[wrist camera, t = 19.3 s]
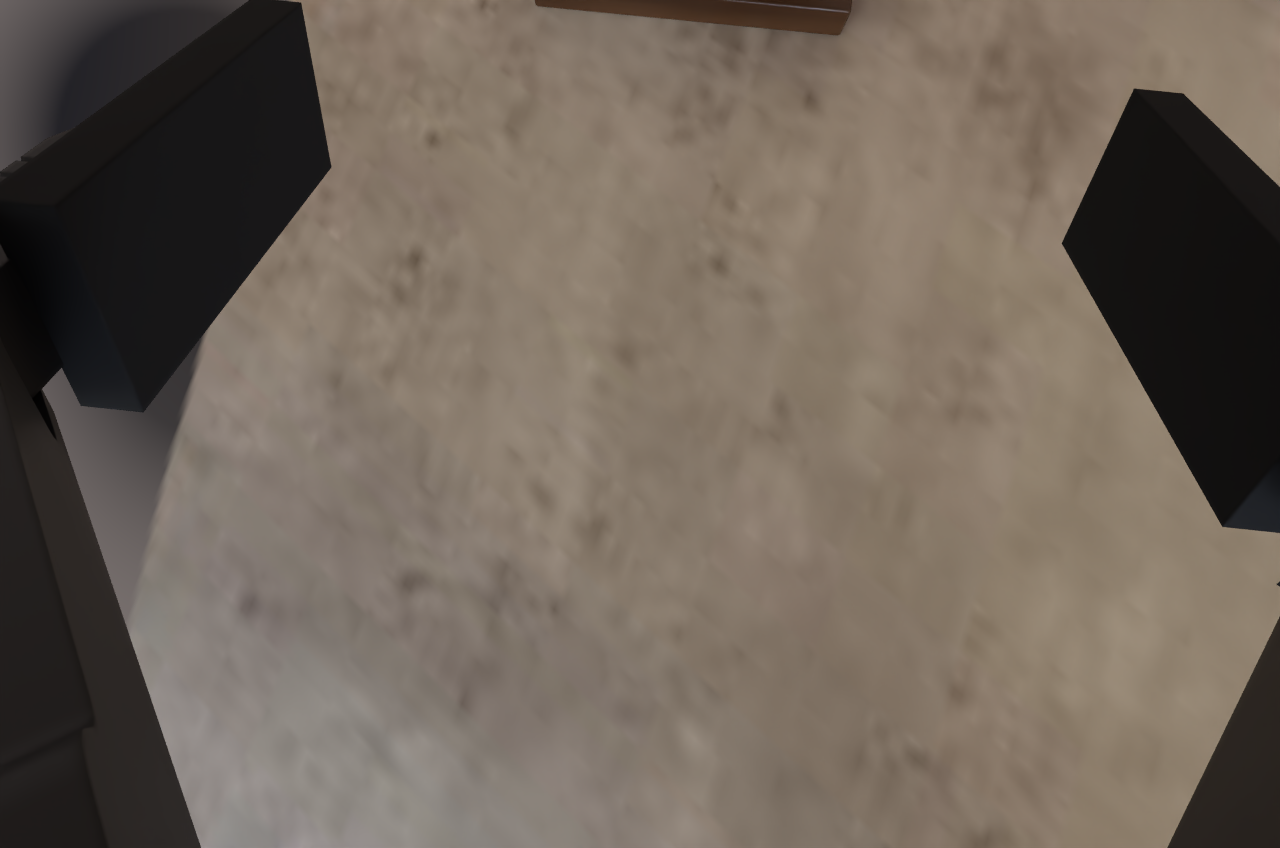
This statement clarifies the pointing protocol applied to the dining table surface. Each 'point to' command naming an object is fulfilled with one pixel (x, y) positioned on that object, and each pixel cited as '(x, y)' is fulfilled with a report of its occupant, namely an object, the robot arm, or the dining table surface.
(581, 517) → the dining table surface
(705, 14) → the tape stand
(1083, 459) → the dining table surface
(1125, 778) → the dining table surface
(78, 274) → the robot arm
